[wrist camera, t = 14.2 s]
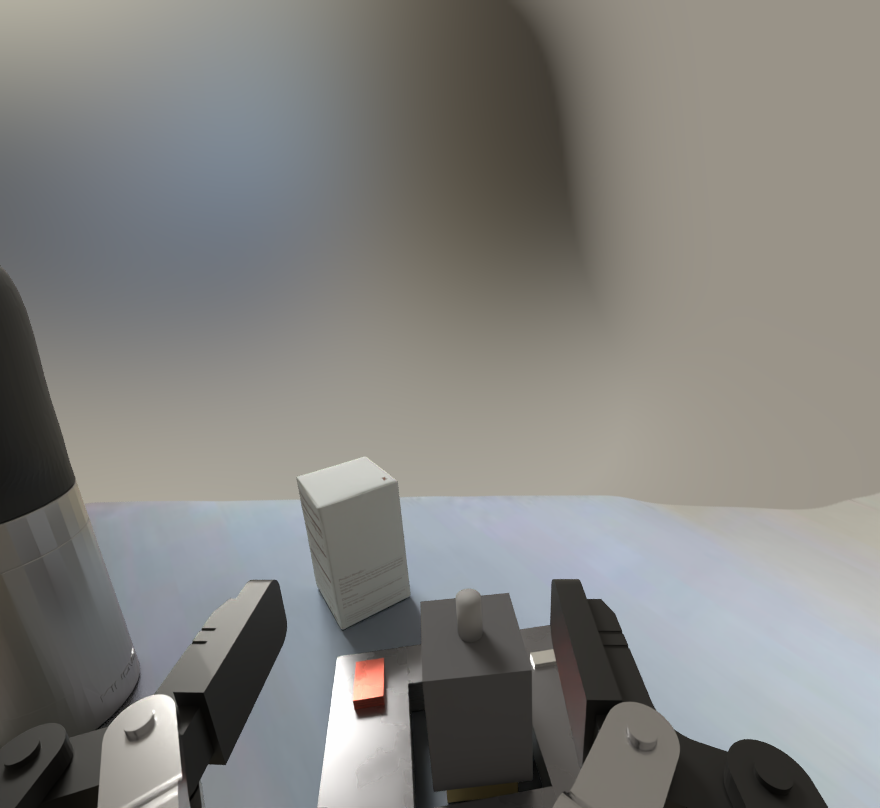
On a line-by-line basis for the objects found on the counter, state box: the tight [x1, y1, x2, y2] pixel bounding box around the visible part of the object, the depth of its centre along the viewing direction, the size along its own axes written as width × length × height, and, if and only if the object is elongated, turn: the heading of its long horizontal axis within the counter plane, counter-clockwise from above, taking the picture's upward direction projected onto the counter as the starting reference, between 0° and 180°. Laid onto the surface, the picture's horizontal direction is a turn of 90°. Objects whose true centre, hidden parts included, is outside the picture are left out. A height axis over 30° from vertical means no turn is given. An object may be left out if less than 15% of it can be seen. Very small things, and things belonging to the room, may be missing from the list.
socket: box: [317, 625, 580, 808], centre depth 27 cm, size 18×14×3 cm
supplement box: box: [296, 457, 411, 630], centre depth 42 cm, size 7×7×13 cm
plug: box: [421, 589, 533, 803], centre depth 26 cm, size 6×6×13 cm
